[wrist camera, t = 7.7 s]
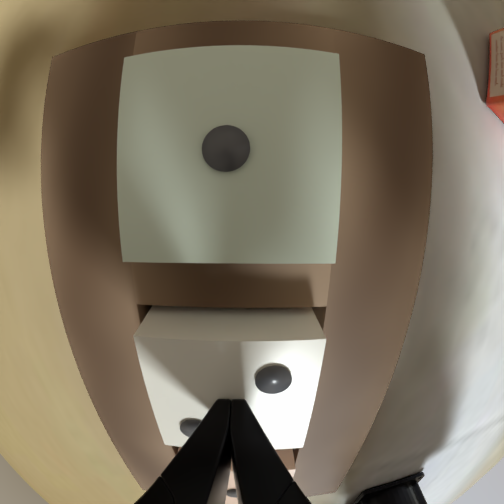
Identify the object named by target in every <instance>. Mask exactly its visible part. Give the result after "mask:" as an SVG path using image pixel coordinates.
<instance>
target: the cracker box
mask: <svg viewBox="0 0 504 504" xmlns="http://www.w3.org/2000/svg"><path fill="white" fill-rule="evenodd" d="M489 41H490V53H489V78H488V90H487V99H486V105H487V106H488V107H489V108H490V109H491V110H492V111H493V112H494V113H495V114H496V115H497V116H498V117H499V119H500V120H501V121H502V122H503V123H504V28H502V29H499V30H497V31H494V32H492V33H490V34H489Z"/></svg>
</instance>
